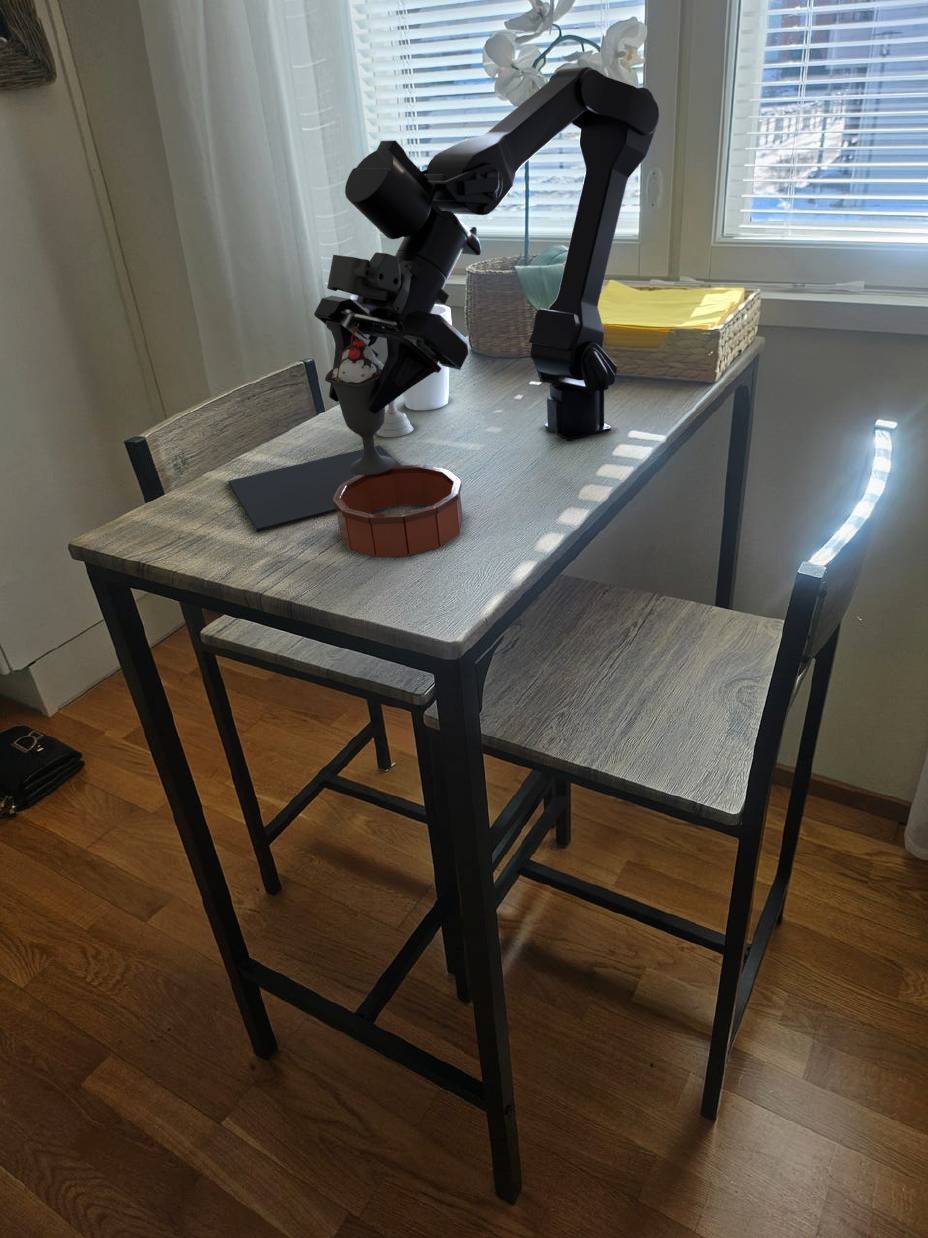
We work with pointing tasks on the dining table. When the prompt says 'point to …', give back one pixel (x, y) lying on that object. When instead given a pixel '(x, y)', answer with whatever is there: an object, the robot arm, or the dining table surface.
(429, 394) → the foam cup
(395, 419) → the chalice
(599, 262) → the robot arm
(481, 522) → the dining table surface
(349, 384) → the sundae
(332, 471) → the placemat
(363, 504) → the serving tub
